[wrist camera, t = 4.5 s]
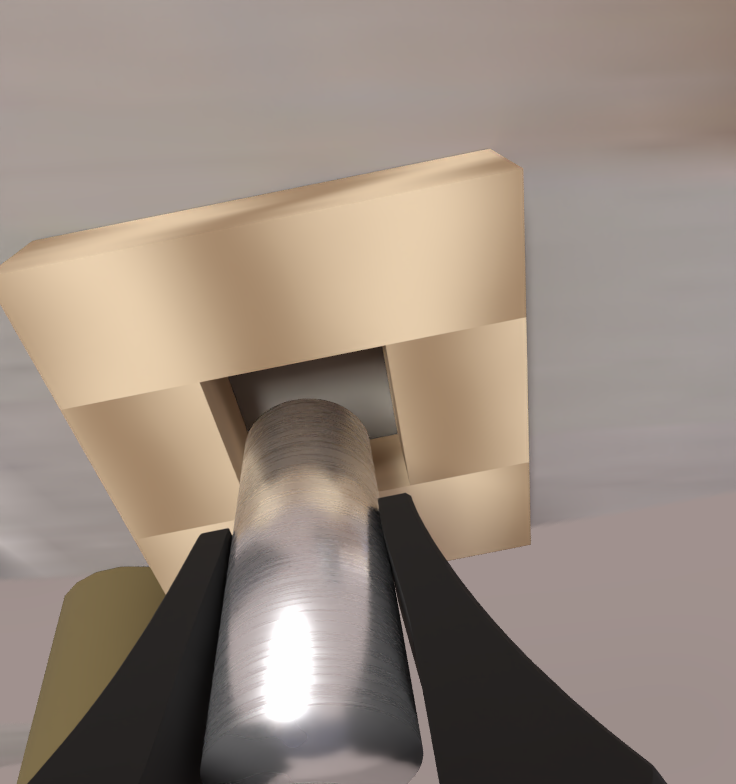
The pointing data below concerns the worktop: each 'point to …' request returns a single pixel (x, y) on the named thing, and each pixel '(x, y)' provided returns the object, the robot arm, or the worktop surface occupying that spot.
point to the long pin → (310, 616)
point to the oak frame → (295, 342)
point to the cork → (88, 653)
